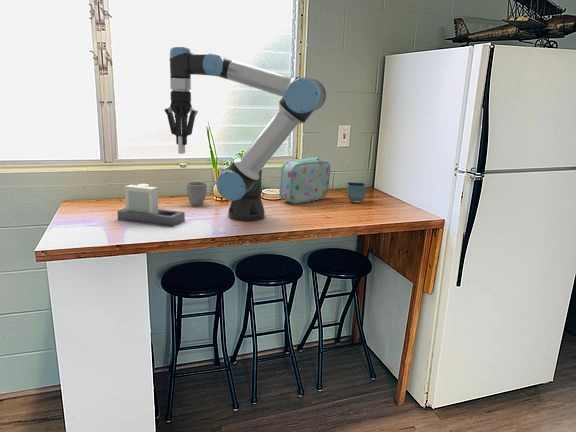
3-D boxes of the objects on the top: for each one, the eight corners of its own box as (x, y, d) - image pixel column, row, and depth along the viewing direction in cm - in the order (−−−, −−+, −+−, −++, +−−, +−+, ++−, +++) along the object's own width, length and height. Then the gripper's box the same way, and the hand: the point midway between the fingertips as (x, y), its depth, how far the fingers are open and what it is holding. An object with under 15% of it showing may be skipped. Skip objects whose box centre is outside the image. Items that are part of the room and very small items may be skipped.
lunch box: (315, 195, 242) (318, 154, 236) (330, 199, 234) (333, 156, 229) (276, 202, 224) (278, 157, 219) (291, 206, 217) (293, 160, 211)
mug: (209, 205, 212) (209, 184, 209) (190, 207, 207) (190, 186, 205) (200, 200, 222) (200, 179, 219) (182, 201, 218) (182, 180, 215)
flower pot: (365, 204, 227) (367, 186, 225) (347, 203, 227) (348, 185, 225) (363, 200, 235) (364, 182, 233) (345, 199, 235) (346, 182, 233)
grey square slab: (158, 216, 187) (157, 187, 184) (152, 219, 183) (151, 189, 180) (132, 213, 190) (130, 184, 187) (125, 216, 186) (124, 186, 183)
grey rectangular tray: (184, 220, 187) (184, 212, 186) (172, 226, 178) (172, 217, 177) (132, 213, 193) (131, 205, 192) (117, 219, 184) (117, 210, 183)
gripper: (201, 91, 178) (201, 153, 184) (170, 90, 182) (171, 150, 188) (191, 91, 171) (192, 155, 177) (160, 89, 175) (161, 153, 181)
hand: (181, 153), depth 183 cm, fingers closed
